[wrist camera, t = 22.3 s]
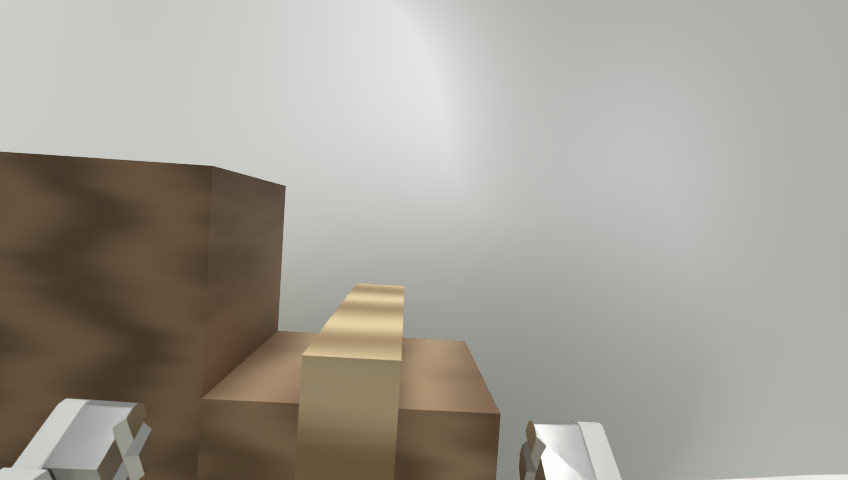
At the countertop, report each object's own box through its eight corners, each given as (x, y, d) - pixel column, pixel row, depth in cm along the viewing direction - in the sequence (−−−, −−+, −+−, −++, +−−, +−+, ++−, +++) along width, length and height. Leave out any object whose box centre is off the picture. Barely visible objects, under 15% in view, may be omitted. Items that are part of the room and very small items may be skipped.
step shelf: (-50, 749, 23) (-31, 149, 22) (120, 551, 37) (136, 176, 36) (475, 763, 24) (516, 186, 23) (449, 564, 38) (474, 198, 37)
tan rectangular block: (393, 490, 16) (401, 360, 16) (294, 485, 16) (302, 355, 16) (400, 348, 34) (404, 286, 34) (353, 345, 34) (356, 283, 34)
